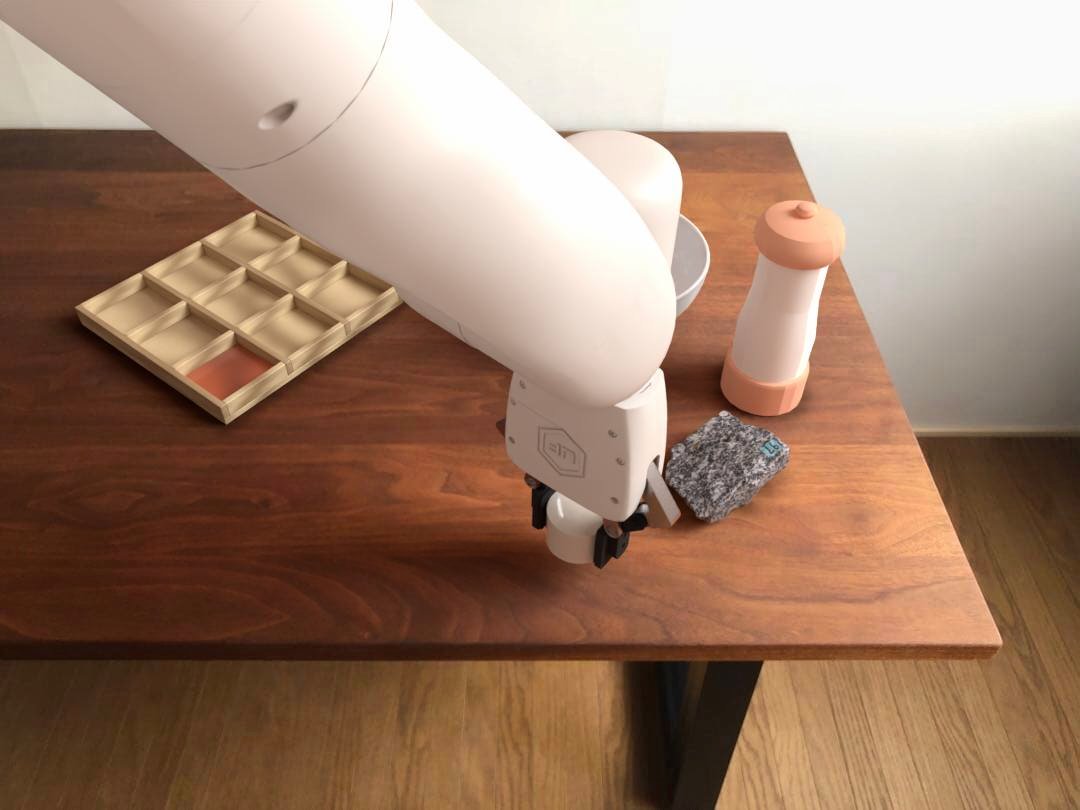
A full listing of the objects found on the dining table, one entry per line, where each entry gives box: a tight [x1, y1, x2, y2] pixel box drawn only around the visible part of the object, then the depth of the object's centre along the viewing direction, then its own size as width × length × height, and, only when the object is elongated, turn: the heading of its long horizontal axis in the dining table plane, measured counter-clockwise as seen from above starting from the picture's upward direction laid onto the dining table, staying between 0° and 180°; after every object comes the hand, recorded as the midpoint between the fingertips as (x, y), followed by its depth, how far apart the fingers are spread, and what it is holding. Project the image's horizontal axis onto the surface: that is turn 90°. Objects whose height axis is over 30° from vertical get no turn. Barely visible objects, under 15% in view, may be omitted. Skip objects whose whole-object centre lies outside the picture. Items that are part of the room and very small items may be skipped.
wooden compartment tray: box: [74, 209, 405, 426], centre depth 87 cm, size 22×22×2 cm
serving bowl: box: [670, 212, 711, 319], centre depth 87 cm, size 21×21×7 cm
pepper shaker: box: [720, 199, 847, 417], centre depth 74 cm, size 7×7×19 cm
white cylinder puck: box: [544, 491, 603, 565], centre depth 64 cm, size 5×5×3 cm
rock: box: [664, 409, 791, 524], centre depth 72 cm, size 8×10×4 cm
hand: (578, 534), depth 65 cm, fingers closed on white cylinder puck, 4 cm apart
